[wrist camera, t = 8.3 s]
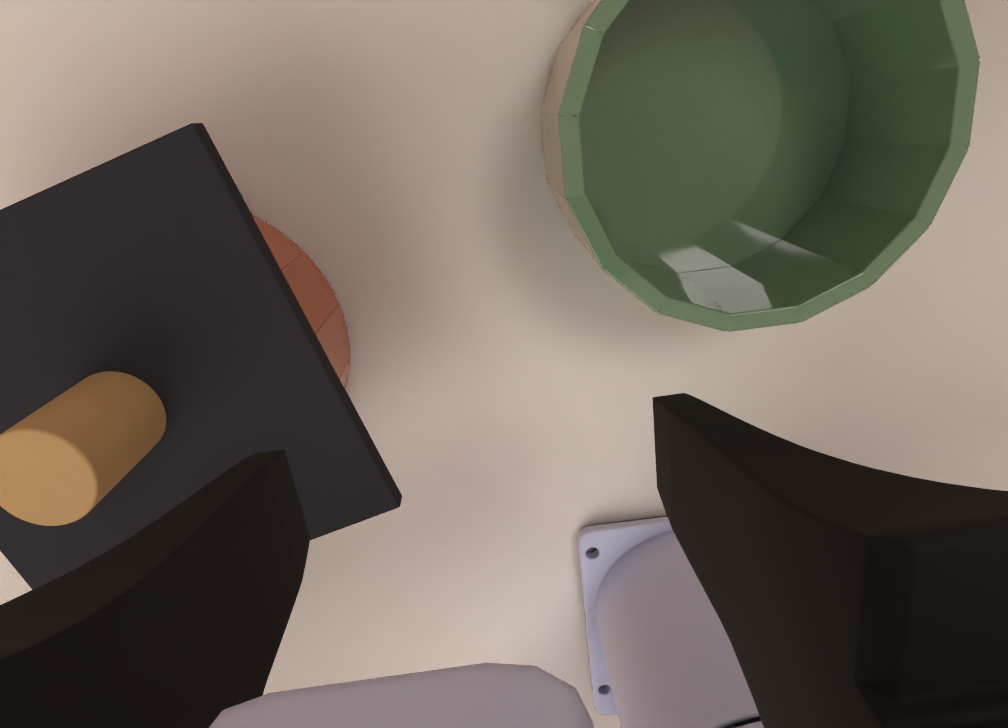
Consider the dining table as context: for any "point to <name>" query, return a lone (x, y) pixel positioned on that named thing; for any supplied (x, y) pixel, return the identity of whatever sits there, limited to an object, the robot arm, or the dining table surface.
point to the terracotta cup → (312, 297)
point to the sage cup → (756, 146)
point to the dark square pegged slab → (157, 361)
